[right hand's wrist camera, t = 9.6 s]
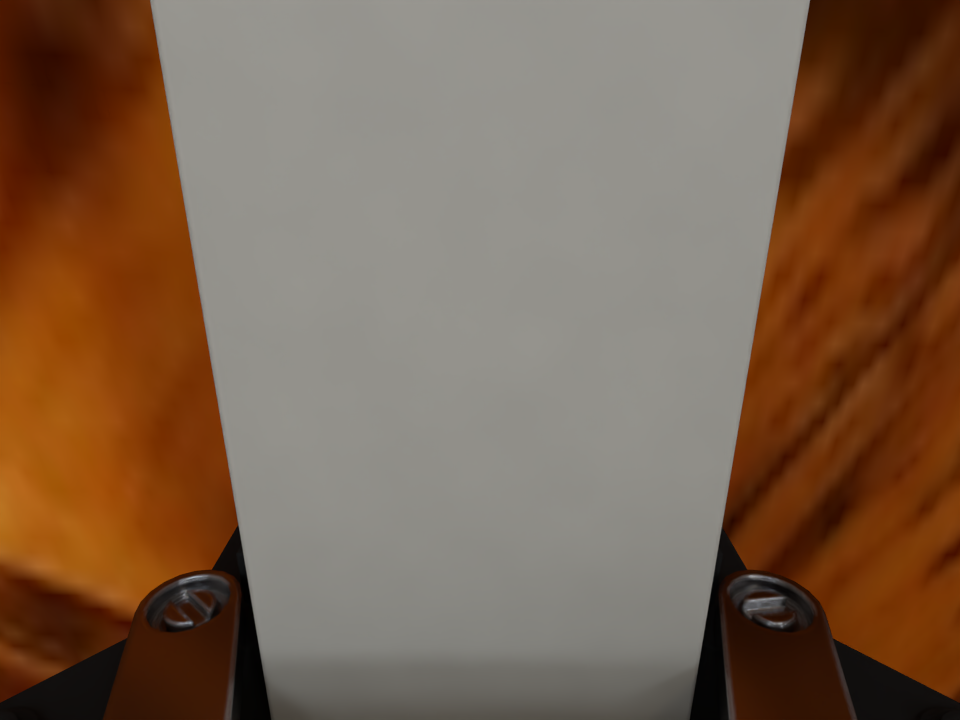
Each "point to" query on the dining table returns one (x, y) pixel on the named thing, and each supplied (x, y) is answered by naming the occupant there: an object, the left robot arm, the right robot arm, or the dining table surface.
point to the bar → (480, 333)
